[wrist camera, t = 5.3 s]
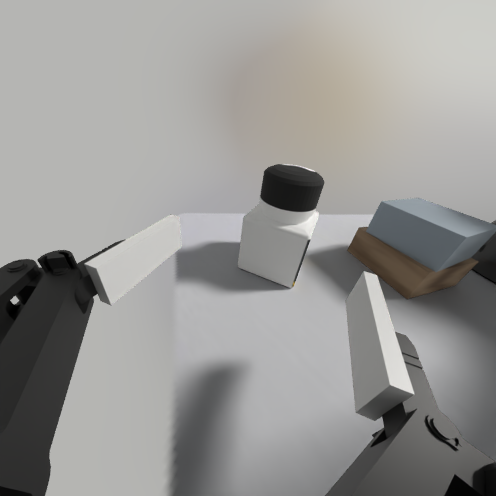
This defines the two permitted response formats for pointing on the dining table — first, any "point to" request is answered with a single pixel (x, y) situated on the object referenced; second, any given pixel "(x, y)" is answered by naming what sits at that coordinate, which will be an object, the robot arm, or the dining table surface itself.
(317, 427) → the dining table surface
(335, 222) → the dining table surface
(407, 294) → the tower base block
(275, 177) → the medicine bottle
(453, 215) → the tower top block
